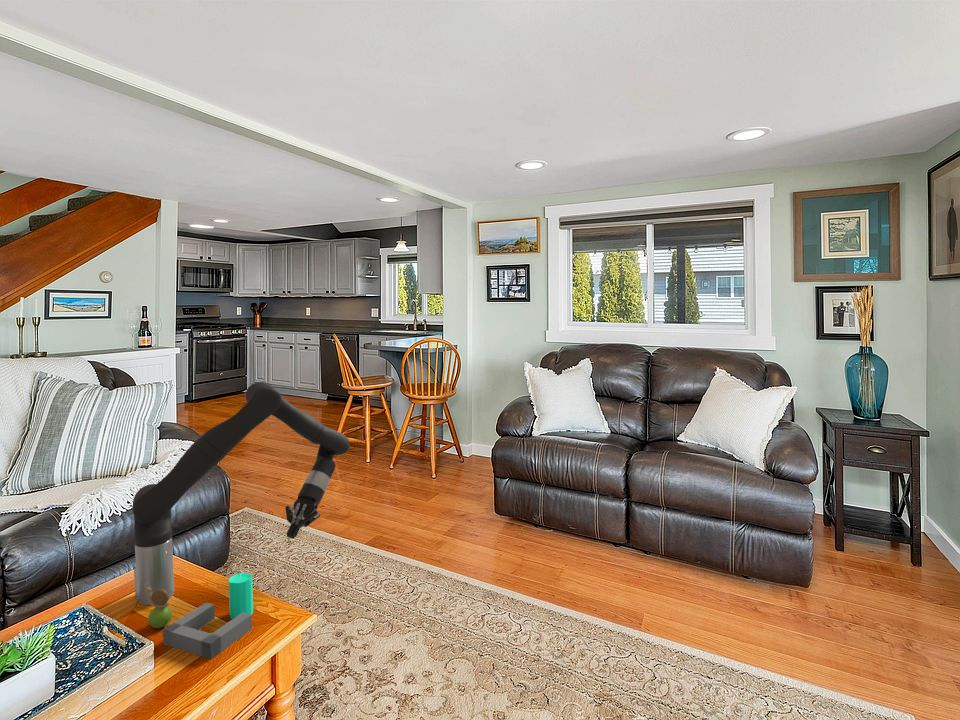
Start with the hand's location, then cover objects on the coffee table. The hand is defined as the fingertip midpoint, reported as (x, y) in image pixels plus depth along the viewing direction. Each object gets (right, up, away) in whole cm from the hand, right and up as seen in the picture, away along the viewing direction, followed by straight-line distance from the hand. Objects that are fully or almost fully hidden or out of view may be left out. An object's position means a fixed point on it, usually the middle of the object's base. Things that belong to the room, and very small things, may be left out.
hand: (290, 537), depth 161 cm
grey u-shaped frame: (-11, -16, -28) cm, 34 cm away
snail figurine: (-26, -16, -24) cm, 39 cm away
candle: (-7, -15, -18) cm, 24 cm away
